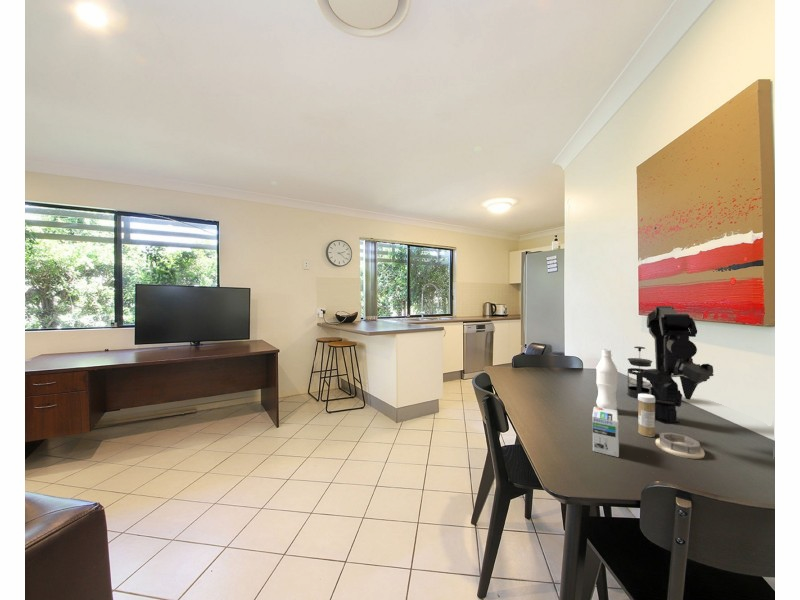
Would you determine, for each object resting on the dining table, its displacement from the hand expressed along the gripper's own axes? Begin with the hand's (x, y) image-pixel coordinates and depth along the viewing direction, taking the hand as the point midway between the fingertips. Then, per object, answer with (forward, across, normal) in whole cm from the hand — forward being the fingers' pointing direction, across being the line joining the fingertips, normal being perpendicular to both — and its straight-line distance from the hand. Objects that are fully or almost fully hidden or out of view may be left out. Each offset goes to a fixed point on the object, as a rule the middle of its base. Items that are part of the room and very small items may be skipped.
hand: (675, 400), depth 97 cm
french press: (+14, +28, +38) cm, 49 cm away
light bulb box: (+13, -25, 0) cm, 28 cm away
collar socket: (+13, -4, -5) cm, 15 cm away
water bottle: (+14, -1, +26) cm, 30 cm away
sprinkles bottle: (+14, -5, +6) cm, 15 cm away
